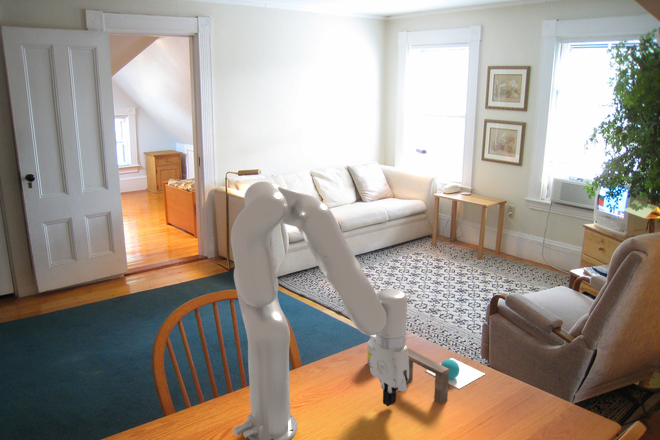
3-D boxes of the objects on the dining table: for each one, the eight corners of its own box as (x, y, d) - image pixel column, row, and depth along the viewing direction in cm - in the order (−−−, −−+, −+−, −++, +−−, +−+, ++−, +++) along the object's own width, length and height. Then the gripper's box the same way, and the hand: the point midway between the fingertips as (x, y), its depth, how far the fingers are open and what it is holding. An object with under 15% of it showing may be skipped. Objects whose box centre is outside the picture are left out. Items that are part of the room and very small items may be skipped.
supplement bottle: (388, 362, 159) (389, 332, 157) (380, 370, 155) (381, 340, 152) (372, 357, 162) (373, 328, 159) (364, 365, 157) (364, 335, 155)
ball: (464, 361, 148) (462, 378, 150) (449, 353, 153) (448, 370, 154) (451, 367, 145) (450, 385, 147) (436, 359, 150) (435, 376, 151)
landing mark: (458, 389, 145) (459, 388, 145) (425, 371, 154) (425, 370, 154) (485, 374, 152) (485, 373, 152) (451, 358, 161) (451, 357, 161)
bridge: (440, 404, 138) (441, 372, 136) (399, 380, 149) (400, 351, 147) (447, 399, 140) (449, 368, 137) (407, 377, 151) (408, 348, 148)
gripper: (359, 332, 135) (359, 395, 140) (402, 354, 124) (400, 422, 128) (380, 324, 139) (379, 385, 144) (423, 345, 128) (420, 410, 133)
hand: (389, 402), depth 136 cm, fingers closed
